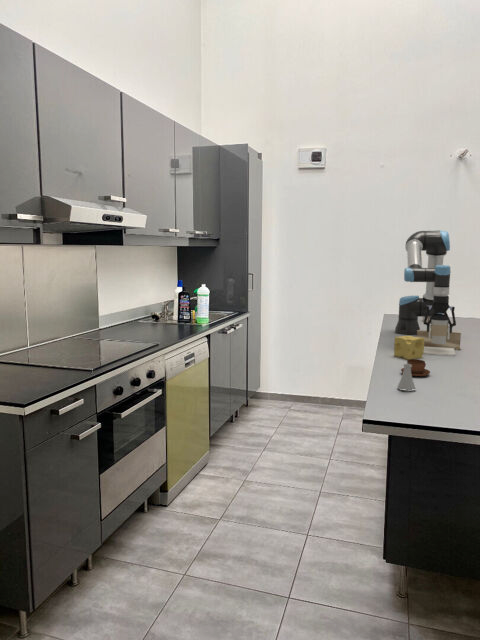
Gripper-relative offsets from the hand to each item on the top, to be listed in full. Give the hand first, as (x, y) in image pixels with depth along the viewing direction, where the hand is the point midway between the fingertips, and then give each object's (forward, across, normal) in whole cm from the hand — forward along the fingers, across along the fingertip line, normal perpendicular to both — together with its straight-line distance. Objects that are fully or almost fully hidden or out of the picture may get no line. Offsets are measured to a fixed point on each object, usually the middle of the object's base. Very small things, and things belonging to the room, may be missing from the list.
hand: (438, 338), depth 275 cm
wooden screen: (+7, 0, +11) cm, 13 cm away
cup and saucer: (+8, -9, -54) cm, 55 cm away
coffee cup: (+3, 0, 0) cm, 3 cm away
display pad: (+7, 0, 0) cm, 7 cm away
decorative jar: (+7, -2, +106) cm, 106 cm away
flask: (+8, -12, -80) cm, 81 cm away
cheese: (+7, -14, -18) cm, 24 cm away
